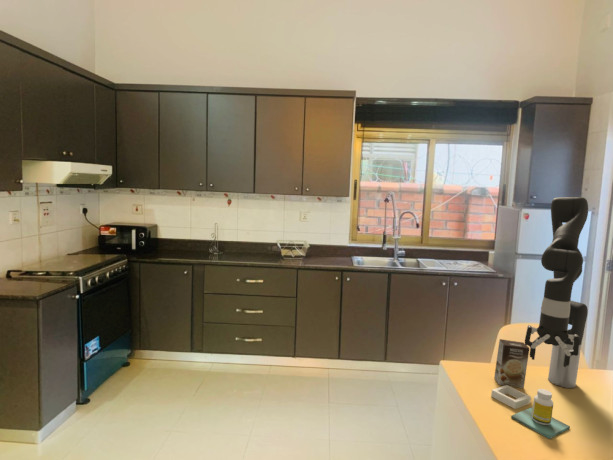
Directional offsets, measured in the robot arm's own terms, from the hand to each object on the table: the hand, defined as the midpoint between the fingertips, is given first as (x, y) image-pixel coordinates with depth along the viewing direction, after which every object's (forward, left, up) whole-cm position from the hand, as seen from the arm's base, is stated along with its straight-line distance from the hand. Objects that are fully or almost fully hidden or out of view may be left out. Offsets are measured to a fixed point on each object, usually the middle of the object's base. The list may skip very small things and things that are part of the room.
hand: (548, 362), depth 124 cm
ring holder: (-5, -13, -20) cm, 25 cm away
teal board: (0, 0, -20) cm, 20 cm away
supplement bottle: (0, 0, -20) cm, 20 cm away
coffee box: (-17, -21, -21) cm, 34 cm away
